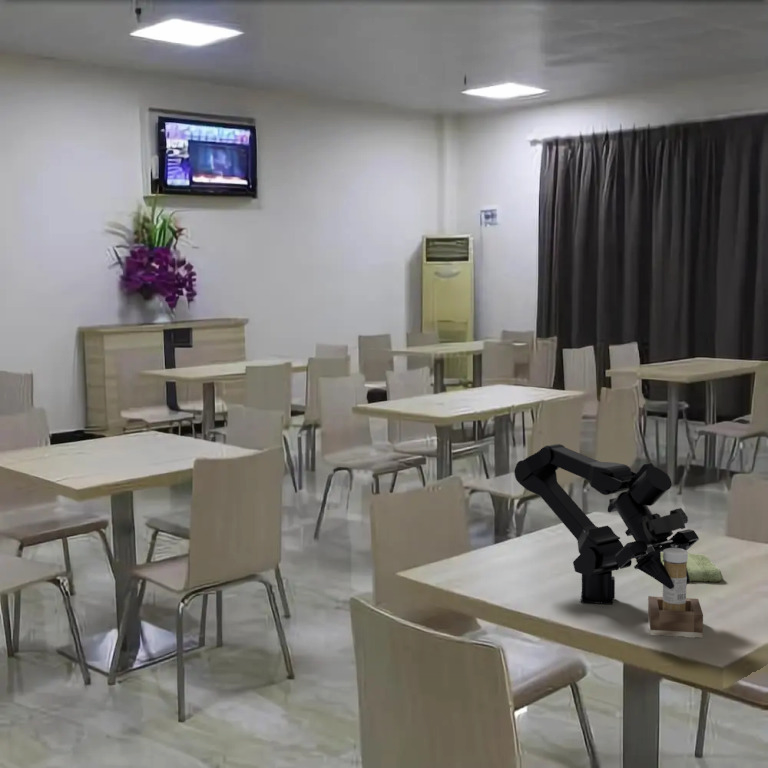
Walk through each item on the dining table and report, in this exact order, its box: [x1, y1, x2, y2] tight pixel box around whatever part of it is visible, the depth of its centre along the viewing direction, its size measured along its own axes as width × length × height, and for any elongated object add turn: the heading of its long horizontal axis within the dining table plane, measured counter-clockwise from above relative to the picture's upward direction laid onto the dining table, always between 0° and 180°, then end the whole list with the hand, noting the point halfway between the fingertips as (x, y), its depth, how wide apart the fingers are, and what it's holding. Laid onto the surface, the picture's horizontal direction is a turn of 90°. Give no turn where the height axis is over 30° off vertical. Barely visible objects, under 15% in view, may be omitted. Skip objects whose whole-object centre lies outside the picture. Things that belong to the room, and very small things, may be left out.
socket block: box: [647, 595, 704, 639], centre depth 193 cm, size 10×10×4 cm
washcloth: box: [660, 552, 724, 583], centre depth 229 cm, size 13×18×3 cm
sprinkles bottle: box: [662, 548, 689, 611], centre depth 192 cm, size 5×5×14 cm
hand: (680, 585), depth 191 cm, fingers closed on sprinkles bottle, 4 cm apart
